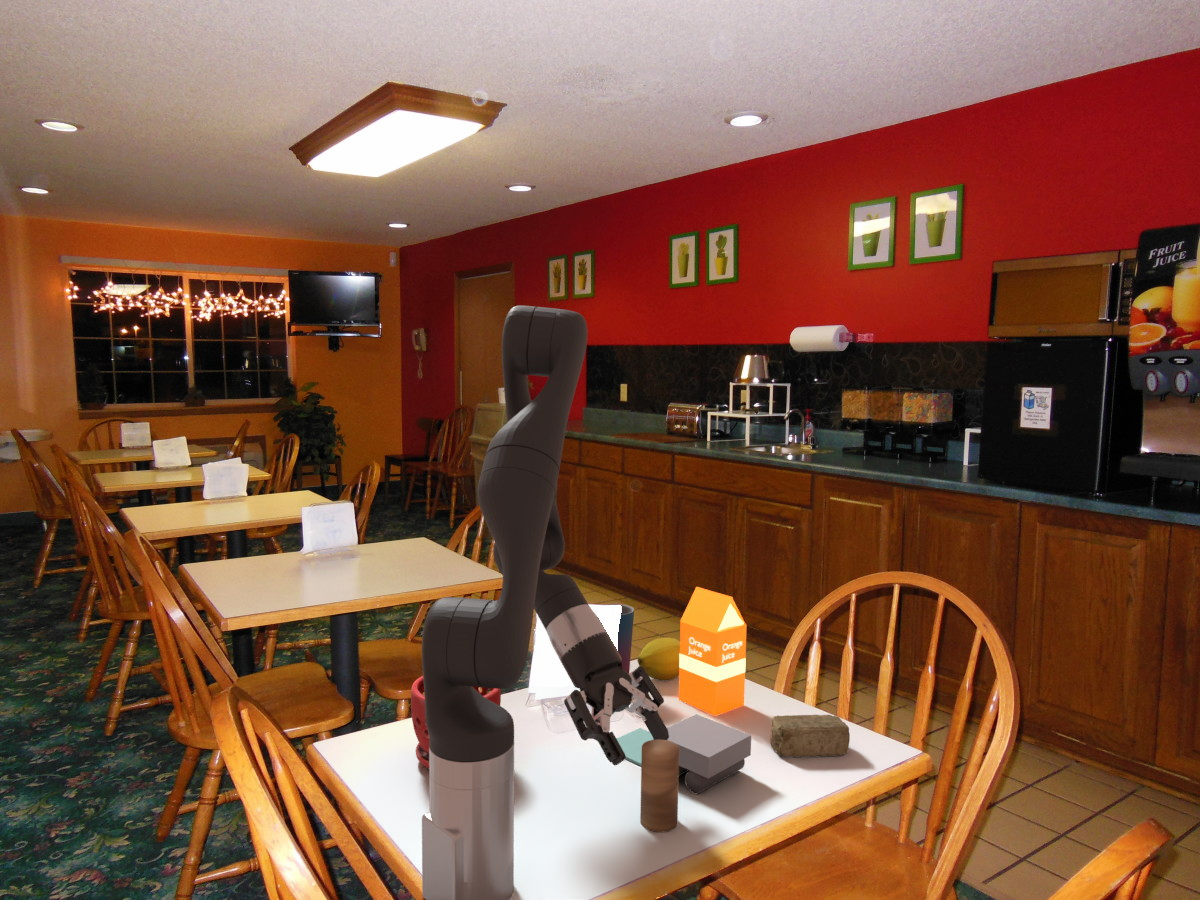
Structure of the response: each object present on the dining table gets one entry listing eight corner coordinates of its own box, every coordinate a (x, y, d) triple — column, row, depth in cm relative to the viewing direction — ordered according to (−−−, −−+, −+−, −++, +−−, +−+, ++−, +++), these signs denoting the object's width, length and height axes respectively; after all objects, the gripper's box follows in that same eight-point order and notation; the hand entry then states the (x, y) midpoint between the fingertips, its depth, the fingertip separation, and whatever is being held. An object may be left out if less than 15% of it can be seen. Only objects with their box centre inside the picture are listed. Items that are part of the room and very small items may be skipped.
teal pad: (644, 767, 122) (644, 765, 121) (601, 747, 128) (601, 745, 128) (683, 748, 128) (683, 746, 128) (640, 730, 134) (640, 727, 134)
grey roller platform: (707, 799, 113) (708, 757, 112) (652, 773, 120) (653, 733, 119) (750, 774, 120) (751, 735, 119) (695, 751, 127) (696, 714, 126)
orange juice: (707, 689, 152) (710, 583, 150) (744, 705, 145) (748, 593, 143) (677, 700, 147) (680, 590, 145) (714, 716, 140) (717, 601, 138)
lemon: (678, 669, 162) (679, 629, 161) (697, 683, 155) (698, 641, 154) (627, 676, 158) (628, 635, 157) (645, 691, 151) (646, 648, 150)
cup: (626, 698, 147) (628, 616, 146) (590, 693, 149) (591, 612, 148) (637, 685, 154) (638, 606, 152) (602, 680, 156) (603, 602, 154)
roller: (660, 836, 104) (662, 760, 103) (632, 821, 107) (634, 747, 106) (684, 822, 107) (686, 748, 106) (657, 807, 110) (658, 736, 109)
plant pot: (392, 769, 120) (391, 689, 119) (447, 734, 132) (446, 661, 131) (467, 790, 114) (467, 706, 113) (517, 751, 126) (517, 675, 125)
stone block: (851, 758, 126) (852, 726, 125) (777, 761, 125) (778, 729, 124) (836, 741, 132) (837, 711, 131) (766, 744, 130) (767, 713, 130)
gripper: (558, 643, 108) (620, 756, 101) (631, 620, 118) (693, 722, 111) (531, 671, 112) (590, 782, 106) (605, 647, 122) (662, 747, 116)
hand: (642, 751), depth 108 cm, fingers open, 8 cm apart
